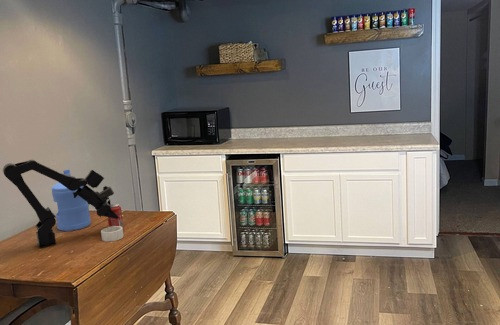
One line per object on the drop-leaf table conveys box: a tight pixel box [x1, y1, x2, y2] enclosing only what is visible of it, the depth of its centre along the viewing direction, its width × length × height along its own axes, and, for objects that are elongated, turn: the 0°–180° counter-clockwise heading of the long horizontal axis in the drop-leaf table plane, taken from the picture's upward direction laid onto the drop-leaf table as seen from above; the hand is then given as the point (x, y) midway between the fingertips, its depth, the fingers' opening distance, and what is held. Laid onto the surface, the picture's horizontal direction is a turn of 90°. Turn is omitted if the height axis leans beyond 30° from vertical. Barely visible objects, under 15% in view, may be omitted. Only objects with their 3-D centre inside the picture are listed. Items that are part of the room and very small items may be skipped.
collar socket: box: [100, 226, 124, 243], centre depth 212 cm, size 9×9×4 cm
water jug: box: [51, 169, 92, 232], centre depth 232 cm, size 16×16×28 cm
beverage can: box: [107, 203, 124, 229], centre depth 221 cm, size 6×6×12 cm
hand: (117, 216), depth 221 cm, fingers closed on beverage can, 6 cm apart
